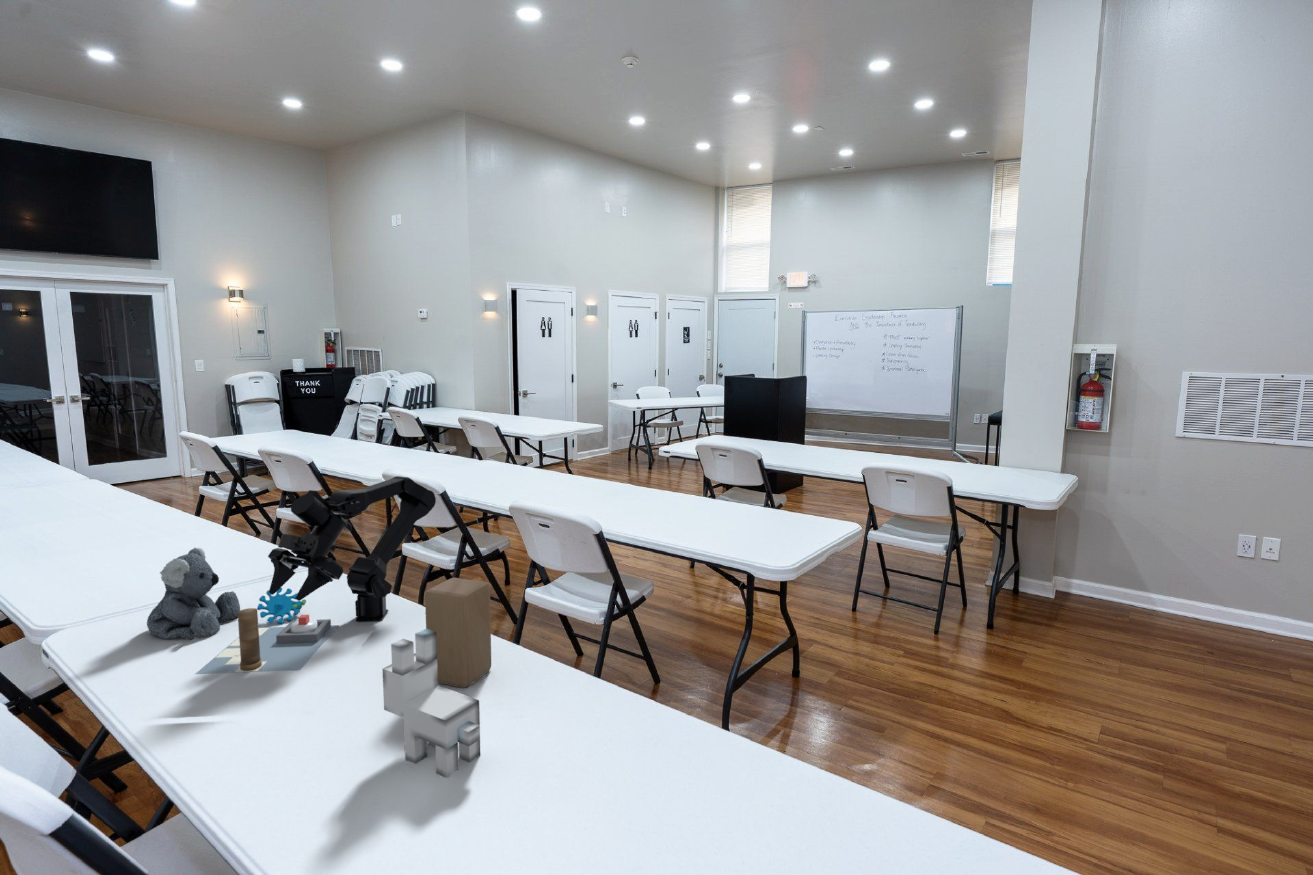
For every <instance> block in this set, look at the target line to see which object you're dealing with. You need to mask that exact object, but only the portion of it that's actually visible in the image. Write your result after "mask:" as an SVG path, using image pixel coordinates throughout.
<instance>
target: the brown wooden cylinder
mask: <svg viewBox="0 0 1313 875" xmlns="http://www.w3.org/2000/svg"><path fill="white" fill-rule="evenodd" d="M258 618H259V614H258V609H257V608H254V607H248V608H244V609H240V611H239V612H238V617H237V623H238V624H237V625H238V637H239V641H240V656H241V662H240V669H241V670H242V671H250V670H254V669H257V668H259V667H261V665H262V660H261V658H260V645H259V629H258V628H259V619H258Z"/></svg>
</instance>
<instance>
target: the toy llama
mask: <svg viewBox="0 0 1313 875" xmlns="http://www.w3.org/2000/svg"><path fill="white" fill-rule="evenodd" d="M414 635H415V636H414V639H415V641H411V640H410V639H409V640H408V639H406V638H403V639H399V640H398V641H395V642H393V643H391V645H390V648H391V650H390V651H391V664H389V665H387V666H385V667H383V668H382V688H383V690H382V691H383V710H384V711H387V712H388V713H391V714H393V715H395V716H398V717H401V718H403V732H404V735H403V736H404V758H405V759H404V760H405V761H409V762H410V763H412V764H417V763H419V762H421V761H423V760H424V759H425V758H427V757H428V751H427V750H428V746H430V747H433V748H435V769H436V770H435V771H436V772H435V773H436V774H437V775H439V776H441V777H444V778H446V779H448V778H449V777H451V776H452V775H454V774H455V773H457V772H458V771H459V767H460V766H459V759H461V760H463V761H465V762H468V763H471V762H473V761H474V760H476V759H477V758H478V757H479V756H481V722H480V718H481V717H480V700H479V699H476V698H474V697H471V696H469V695H466V694H462V693H460V692H457V691H455V690H452V689H449V688H446V687H443V686H440V685H439V683H438V672H437V637H436V631H433V630H429V629H426V628H425V629H422V630H420V631H418V632H415V633H414ZM414 642H415V646H414ZM414 647H415V651H414ZM427 744H428V745H427Z"/></svg>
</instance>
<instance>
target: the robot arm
mask: <svg viewBox="0 0 1313 875" xmlns="http://www.w3.org/2000/svg"><path fill="white" fill-rule="evenodd" d="M395 496H397V497H398V499H400V503H399V512H398V514H397V516H396V517H395V519H394V520H393V521H392V522H391V524H390V526H389V527H388V529H387V530H386V531H385V532H384V533H383V535H382V537H381V538H380V540H379V541H378V543H377V544H376V546H375V547H374V548H373V550H372V551H371V553H370V554H369V555H368V556H366V557H364V556H358V557H357V558H356V559H355V561H354V562H353V564H352V566H351V567H349V568H348V571H349V572H348V573H347V576H346V583H347V586H348V588H349V589H350V591H351V593H352V594H353V595H357V596H356V600H355V601H354V603H355V604H354V605H355V617H356V618H355V621H356V622H370V621H371V622H373V621H383V619H384V618H385V617H386V616H387V614H388V612H389V609H387V599H386V598H387V596H388V595H390V594H391V593H392V592H391V591H392V587H393V586H392V584H391V583H390V582H388V581H387V580H386V579H385V578H386V577H387V571H388V570H387V568H388V563H389V562H390V560H391V559H392V558H393V557H394V554H395V553H396V552H397V550H398V549H399V547H400V546H401V544H402V543H403V541H404V540H405V538H406V537H407V535H408V534H409V533H410V531H411V529H412V528H413V527H414V525H415V523H416V522H417V521H419V520H421V519H422V518H423V517H425V516H427V515H428V514H429V513H430V512H431V511H432V510H433V509H434V507H435V505H436V503H437V501H436V500H437V498H436V495H435V493H434V492H433V491H432V490H430V489H428V488H426V487H424V486H422V485H421V484H418V483H417V482H415V481H414V480H413V479H412V478H410V477H408V476H401V475H400V476H399V475H398V476H393V477H392V478H391V479H386V480H384V481H381V482H378V483H377V482H376V483H374V484H371V485H368V486H365V487H363V488H357V489H356V488H355V489H341V490H336V491H334V492H332V493H331V494H330V496H328V497H325V498H323V497H322V496H321V495H320V493H319V492H318V491H316V490H312V489H309V490H308V491H307V493H306V494H303V495H301V496H300V497H298V498H297V499H295V500H294V501H293V503H292V504H291V507H290V511H291V513H292V514H293V515H295V516H296V518H298V519H299V520H301V521H302V522H303V523H305V525H307V526H308V527H309V528H310V527H311V528H313V529H312V531H311V532H310V533H308V532H307V533H302V534H301V535H300V536H299V535H298V536H297V535H293V534H287V533H282V535H281V537H280V540H279V542H278V546H277V548H272V549H271V551H270V552H269V553H268V555H267V558H269V559H270V562H271V564H272V565H273V574H272V580H271V582H270V586H269V589H268V590H269V593H270V594H271V595H272V596H273V595H274V594H277V591H278V590H279V589H280V588H283V586H284V585H285V584H286V583H287V582H288V581H290V579H291V578H293V576H294V575H295V574H296V569H298V568H299V567H302V568H307V577H306V578H305V580H304V582H303V584H302V585H301V587H300V589H299V590H298V592H297V596H296V599H295V600H296V601H302V600H304V599H305V598H306V597H308V596H309V595H311V594H312V593H314V592H316V590H318V589H319V588H322V587H323V586H325V585H326V584H328V583H332V582H333V581H334V580H338V581H339V580H340V579H341V577H342V576H343V574H344V567H343V566H342V565H341V564H339V563H338V562H337V561H336V560H334V559H332V557H327V555H328V554H329V552H331V553H334V552H335V550H336V547H335V543H336V541H337V540H338V539H339V537H340V535H341V533H342V532H343V531H349V532H351V531H353V526H352V524H351V519H348V518H344V517H342V515H343V516H349V517H356V516H358V515H359V514H362V513H364V511H366V510H367V509H368V508H369V506H371V505H372V504H374V503H378V502H380V501H383V500H387V499H389V498H392V497H395ZM289 550H290V551H289Z"/></svg>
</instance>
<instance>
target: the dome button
mask: <svg viewBox="0 0 1313 875" xmlns="http://www.w3.org/2000/svg"><path fill="white" fill-rule="evenodd" d="M297 620H298V621H296V622H294V623H292V624H291V633H304V632H314V631H315V630H316V629H317V620H318V619H314V618H310V614H301V615H299V617H297Z"/></svg>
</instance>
